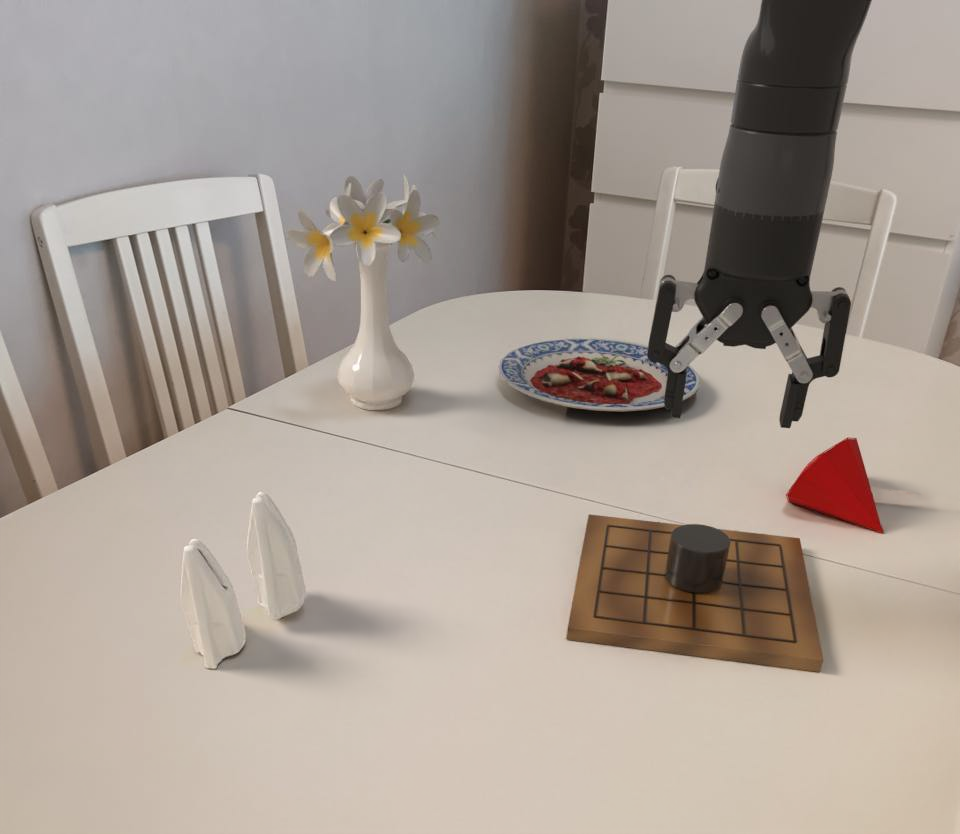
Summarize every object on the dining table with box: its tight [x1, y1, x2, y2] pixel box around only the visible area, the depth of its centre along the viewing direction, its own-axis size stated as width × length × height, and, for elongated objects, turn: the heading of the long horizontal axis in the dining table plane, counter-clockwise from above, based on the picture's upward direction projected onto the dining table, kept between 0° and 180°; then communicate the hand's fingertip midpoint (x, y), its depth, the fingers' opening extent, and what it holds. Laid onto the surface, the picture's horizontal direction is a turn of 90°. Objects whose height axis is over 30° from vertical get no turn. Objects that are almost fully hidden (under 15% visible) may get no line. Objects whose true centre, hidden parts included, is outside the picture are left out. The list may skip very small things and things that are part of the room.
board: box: [566, 513, 824, 673], centre depth 85 cm, size 20×20×1 cm
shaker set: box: [179, 491, 307, 670], centre depth 75 cm, size 12×4×11 cm, turn 143°
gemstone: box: [785, 437, 885, 534], centre depth 97 cm, size 9×9×10 cm
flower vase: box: [285, 173, 441, 411], centre depth 111 cm, size 13×18×25 cm
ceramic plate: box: [498, 338, 701, 412], centre depth 125 cm, size 26×26×3 cm
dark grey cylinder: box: [665, 523, 731, 593], centre depth 83 cm, size 5×5×4 cm
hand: (729, 419), depth 77 cm, fingers open, 8 cm apart
